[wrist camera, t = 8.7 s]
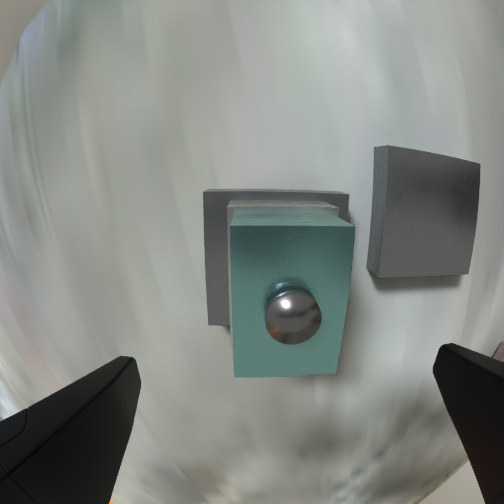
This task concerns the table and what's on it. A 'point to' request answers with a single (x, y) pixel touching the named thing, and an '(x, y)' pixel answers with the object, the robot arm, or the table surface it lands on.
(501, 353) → the mortar and pestle
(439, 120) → the table surface
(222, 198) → the stand
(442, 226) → the stand
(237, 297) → the housing
